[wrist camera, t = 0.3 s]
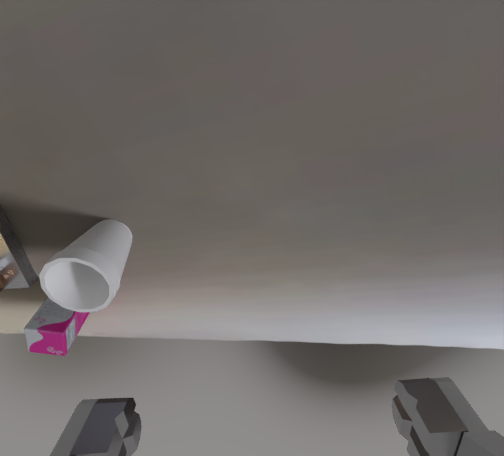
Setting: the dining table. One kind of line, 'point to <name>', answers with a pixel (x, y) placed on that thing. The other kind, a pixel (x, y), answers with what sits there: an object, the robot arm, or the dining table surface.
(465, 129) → the dining table surface
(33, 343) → the supplement box
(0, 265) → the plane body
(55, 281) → the foam cup
